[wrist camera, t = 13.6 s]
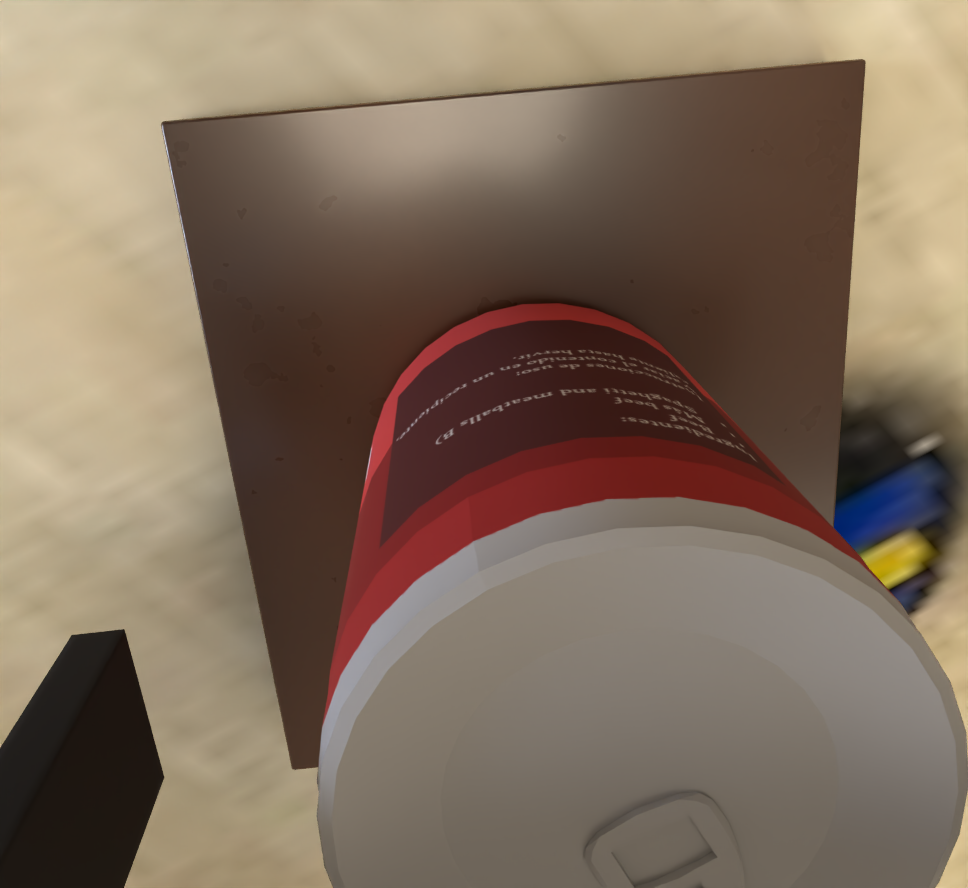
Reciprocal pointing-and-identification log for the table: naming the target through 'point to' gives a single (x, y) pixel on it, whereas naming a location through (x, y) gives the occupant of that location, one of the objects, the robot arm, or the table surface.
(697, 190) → the brown metal board
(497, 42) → the table surface
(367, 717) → the canned food
